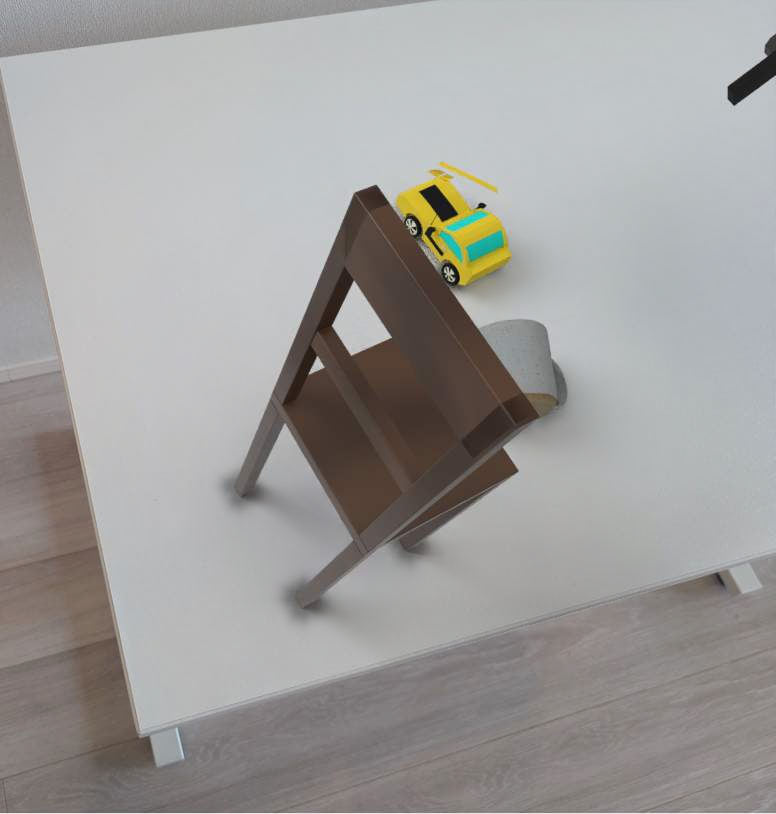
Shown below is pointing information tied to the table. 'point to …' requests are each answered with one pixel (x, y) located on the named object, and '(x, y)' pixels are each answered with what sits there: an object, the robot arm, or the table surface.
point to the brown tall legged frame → (391, 397)
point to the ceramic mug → (529, 361)
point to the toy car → (455, 228)
